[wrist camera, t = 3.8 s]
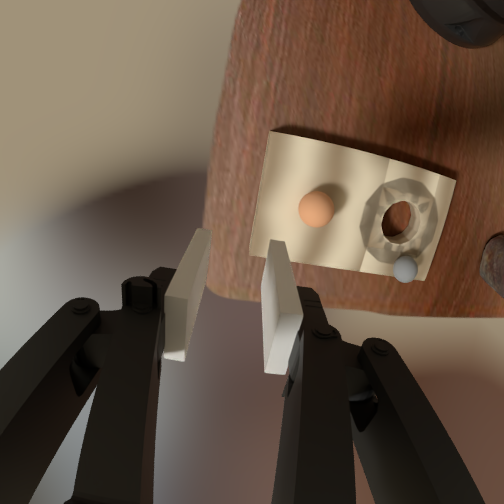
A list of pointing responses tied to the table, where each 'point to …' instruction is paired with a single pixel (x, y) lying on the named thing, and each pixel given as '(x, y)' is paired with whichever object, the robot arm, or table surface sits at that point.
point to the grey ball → (405, 269)
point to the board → (347, 206)
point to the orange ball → (316, 209)
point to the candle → (494, 264)
